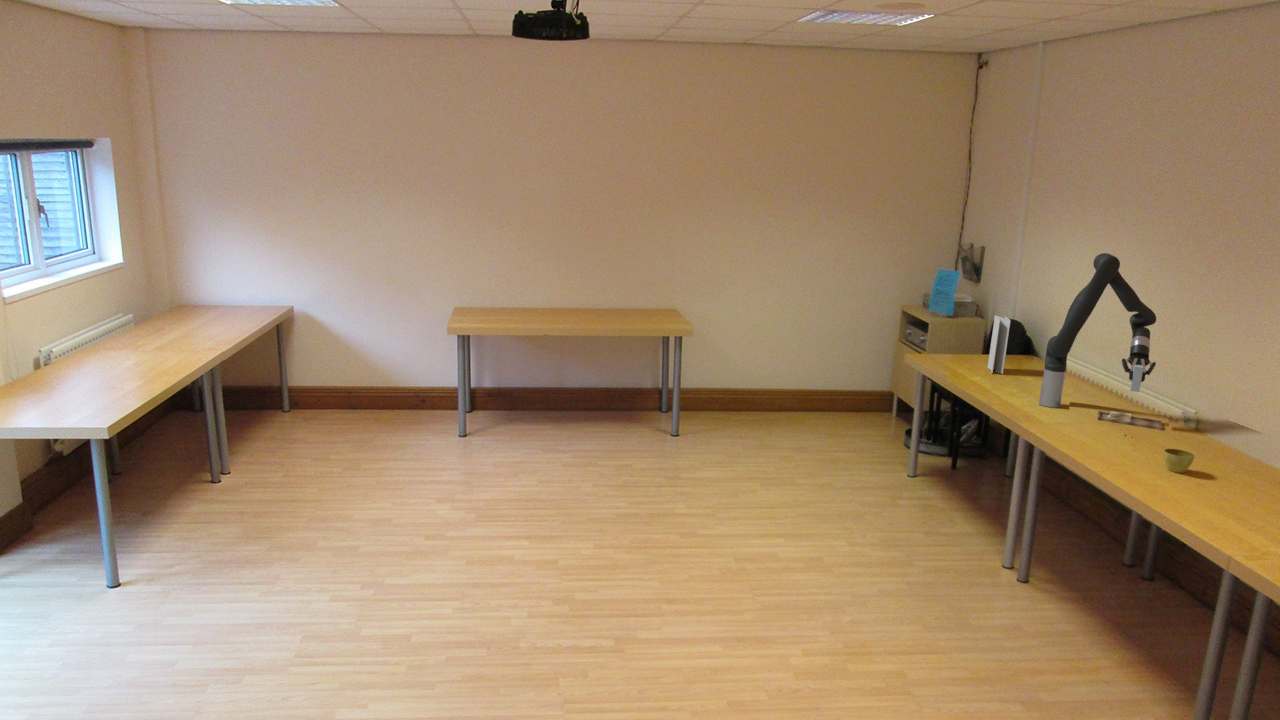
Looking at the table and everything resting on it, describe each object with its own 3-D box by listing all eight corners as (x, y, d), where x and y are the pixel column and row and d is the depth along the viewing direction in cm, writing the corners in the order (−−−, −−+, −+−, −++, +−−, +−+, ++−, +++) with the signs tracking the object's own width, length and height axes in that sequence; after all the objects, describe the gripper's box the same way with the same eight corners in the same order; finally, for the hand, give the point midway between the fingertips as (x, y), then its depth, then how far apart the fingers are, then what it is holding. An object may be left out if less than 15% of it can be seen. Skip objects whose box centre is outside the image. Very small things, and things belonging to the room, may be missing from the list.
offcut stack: (1106, 420, 390) (1108, 412, 389) (1106, 419, 393) (1108, 410, 392) (1129, 424, 386) (1131, 415, 385) (1129, 422, 389) (1131, 413, 388)
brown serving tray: (1097, 423, 391) (1098, 417, 390) (1097, 416, 402) (1098, 411, 402) (1161, 433, 380) (1163, 427, 380) (1160, 426, 392) (1161, 420, 391)
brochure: (1002, 374, 476) (1010, 320, 469) (992, 374, 477) (999, 319, 470) (997, 369, 489) (1005, 316, 483) (987, 368, 490) (994, 315, 484)
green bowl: (1154, 465, 336) (1158, 447, 335) (1179, 466, 337) (1183, 448, 336) (1172, 475, 327) (1175, 456, 325) (1197, 475, 328) (1201, 457, 326)
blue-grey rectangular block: (1130, 390, 388) (1134, 366, 385) (1130, 388, 392) (1134, 364, 390) (1139, 392, 386) (1143, 367, 384) (1138, 389, 391) (1142, 365, 388)
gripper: (1123, 341, 395) (1119, 373, 387) (1159, 345, 389) (1156, 378, 381) (1121, 351, 401) (1117, 382, 393) (1156, 355, 394) (1153, 387, 386)
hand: (1136, 380), depth 387 cm, fingers closed on blue-grey rectangular block, 3 cm apart
